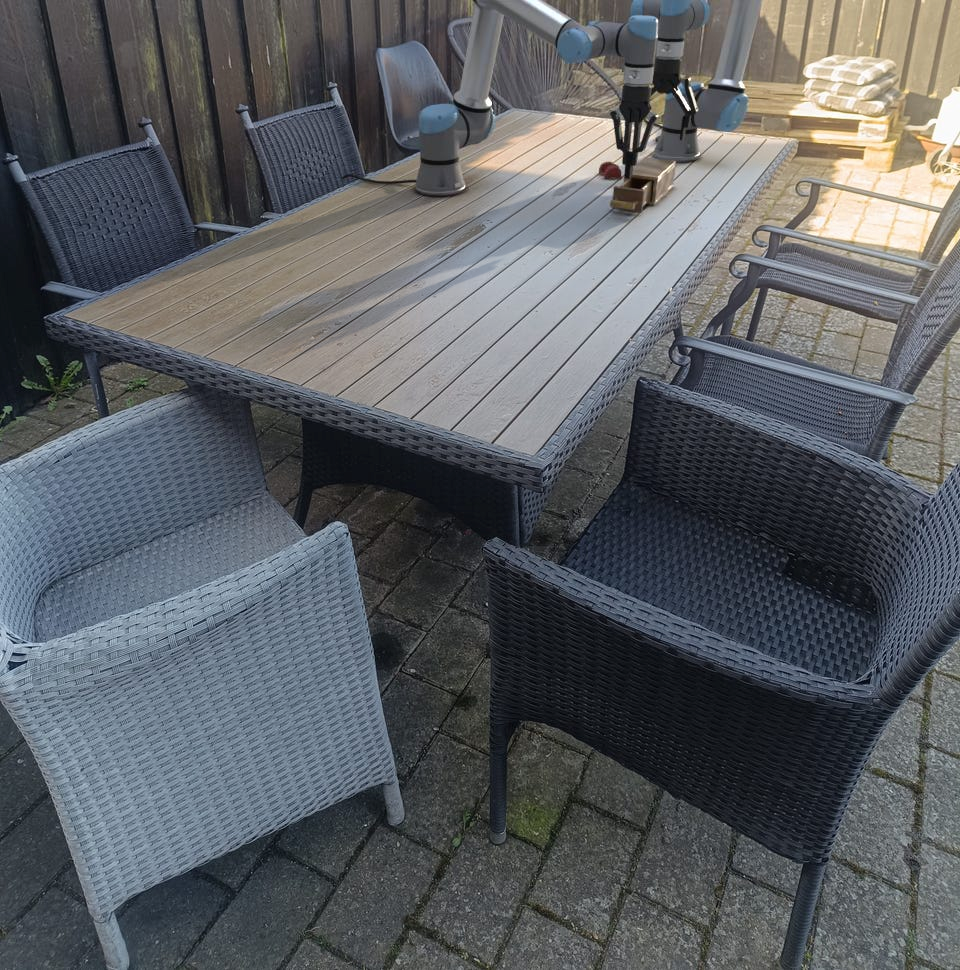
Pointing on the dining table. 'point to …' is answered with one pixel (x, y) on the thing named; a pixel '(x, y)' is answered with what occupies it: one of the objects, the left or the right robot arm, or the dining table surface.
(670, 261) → the dining table surface
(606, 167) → the dental model
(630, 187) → the drawer
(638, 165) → the cabinet
